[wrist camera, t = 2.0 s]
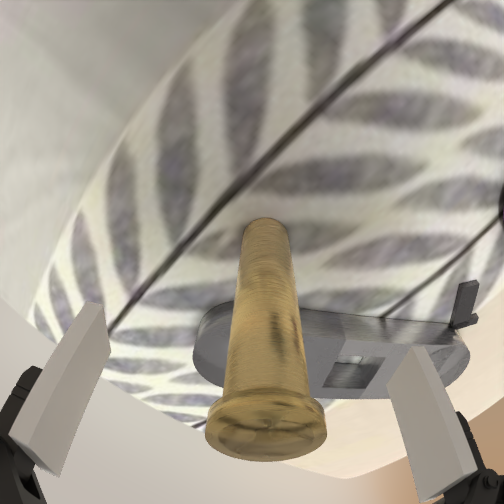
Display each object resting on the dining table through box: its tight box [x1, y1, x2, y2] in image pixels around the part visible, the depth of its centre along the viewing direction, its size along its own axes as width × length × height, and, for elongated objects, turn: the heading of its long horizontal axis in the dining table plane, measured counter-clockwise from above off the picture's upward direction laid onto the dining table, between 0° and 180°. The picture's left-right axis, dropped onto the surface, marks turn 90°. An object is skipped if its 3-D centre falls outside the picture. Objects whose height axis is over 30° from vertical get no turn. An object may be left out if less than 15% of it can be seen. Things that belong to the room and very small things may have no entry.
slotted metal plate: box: [193, 301, 470, 399], centre depth 24 cm, size 7×26×3 cm, turn 81°
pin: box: [205, 218, 327, 462], centre depth 14 cm, size 4×4×14 cm
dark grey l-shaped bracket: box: [450, 280, 479, 330], centre depth 23 cm, size 5×3×1 cm, turn 11°
